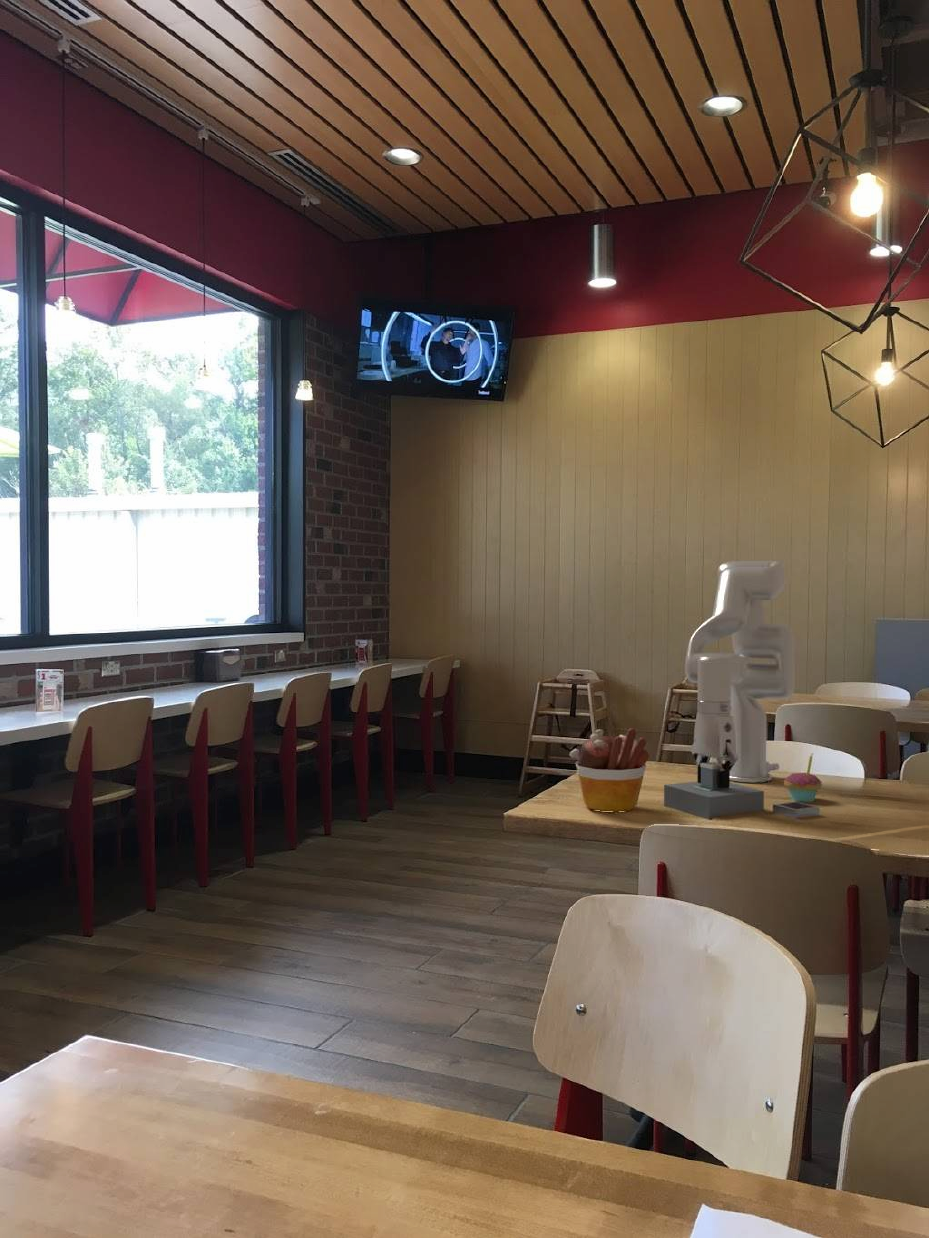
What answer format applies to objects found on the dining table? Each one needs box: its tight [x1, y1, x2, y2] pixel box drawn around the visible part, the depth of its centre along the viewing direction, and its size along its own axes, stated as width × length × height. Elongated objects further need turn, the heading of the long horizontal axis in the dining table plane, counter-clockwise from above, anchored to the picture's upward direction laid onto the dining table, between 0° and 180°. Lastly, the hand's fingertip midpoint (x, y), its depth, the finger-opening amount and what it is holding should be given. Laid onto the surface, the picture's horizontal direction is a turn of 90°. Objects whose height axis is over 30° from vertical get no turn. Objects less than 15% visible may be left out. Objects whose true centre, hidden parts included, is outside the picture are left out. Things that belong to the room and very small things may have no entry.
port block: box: [663, 781, 765, 820], centre depth 233 cm, size 16×16×5 cm
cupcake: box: [783, 753, 823, 803], centre depth 241 cm, size 9×8×12 cm
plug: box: [700, 761, 726, 791], centre depth 233 cm, size 4×4×10 cm
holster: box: [772, 801, 821, 819], centre depth 226 cm, size 7×7×2 cm
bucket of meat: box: [569, 727, 650, 812], centre depth 234 cm, size 20×16×20 cm
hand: (713, 784), depth 233 cm, fingers open, 6 cm apart
